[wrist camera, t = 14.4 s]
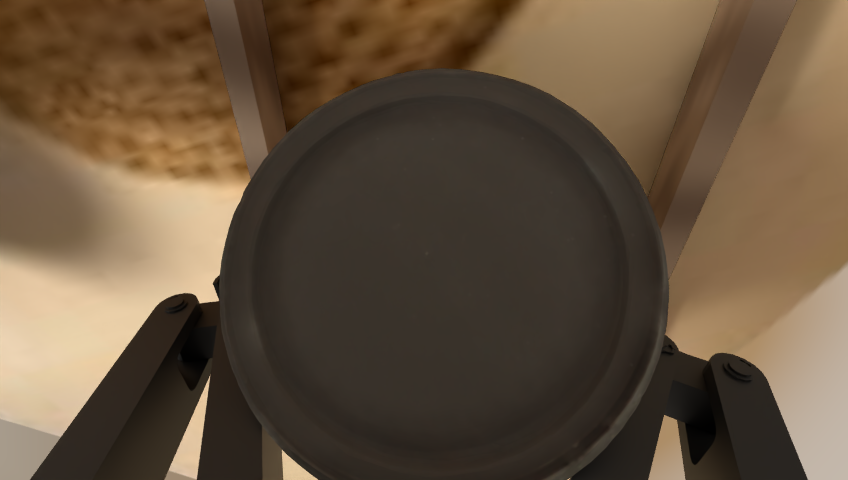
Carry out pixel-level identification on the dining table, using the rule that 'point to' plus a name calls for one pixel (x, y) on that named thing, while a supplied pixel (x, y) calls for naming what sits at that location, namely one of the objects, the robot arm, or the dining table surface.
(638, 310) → the coffee can
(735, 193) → the dining table surface
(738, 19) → the walnut frame
